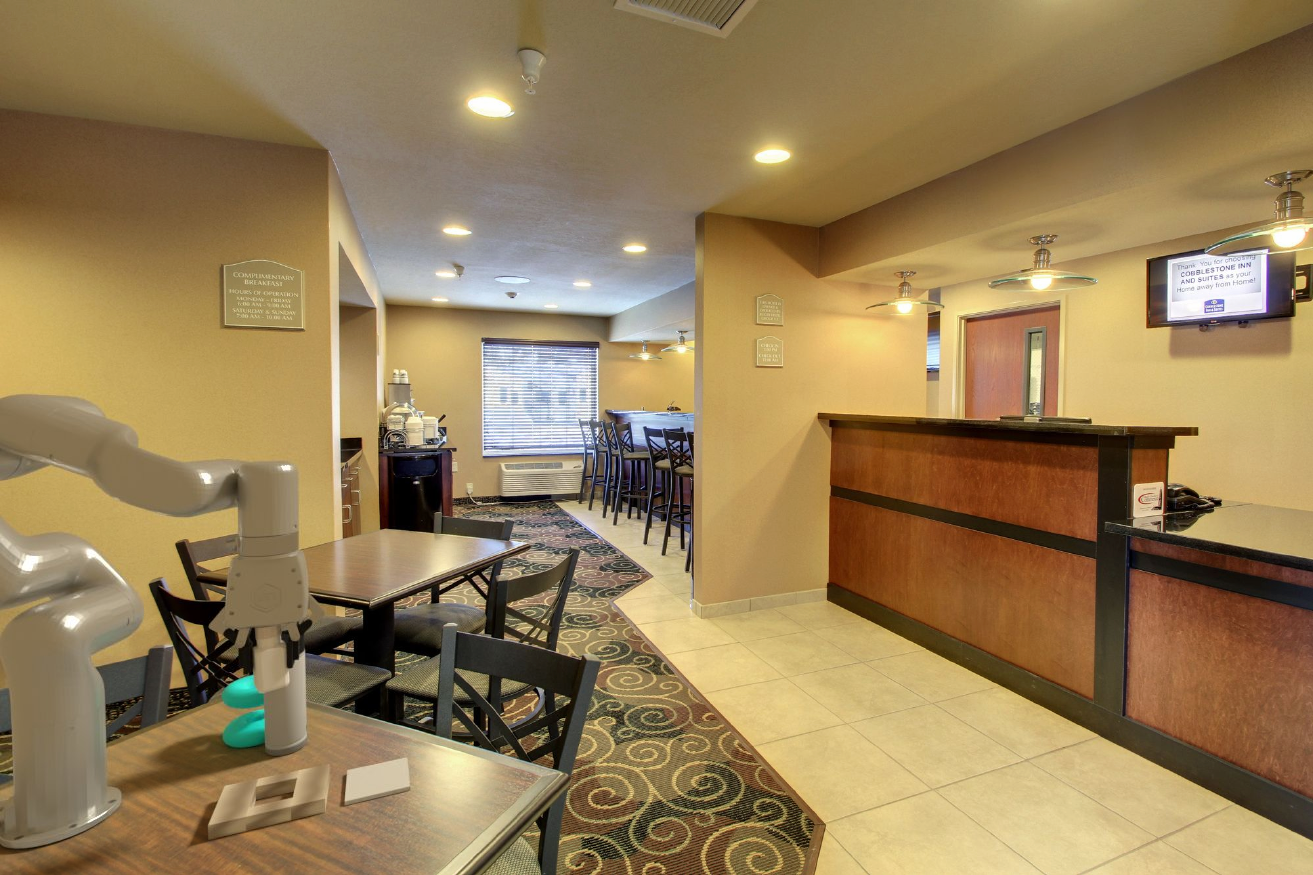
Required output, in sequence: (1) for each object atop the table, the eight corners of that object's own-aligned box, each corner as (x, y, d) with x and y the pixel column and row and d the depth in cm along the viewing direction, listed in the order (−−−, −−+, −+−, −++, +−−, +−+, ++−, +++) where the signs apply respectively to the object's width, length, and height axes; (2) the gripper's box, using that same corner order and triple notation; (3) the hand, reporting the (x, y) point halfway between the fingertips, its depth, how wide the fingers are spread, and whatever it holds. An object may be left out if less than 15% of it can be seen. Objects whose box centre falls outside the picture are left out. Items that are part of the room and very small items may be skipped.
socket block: (208, 839, 82) (207, 825, 82) (225, 798, 91) (224, 785, 91) (325, 812, 88) (324, 798, 88) (330, 775, 97) (329, 763, 97)
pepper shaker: (258, 695, 87) (254, 630, 86) (253, 687, 90) (249, 624, 89) (290, 686, 89) (286, 623, 89) (284, 678, 92) (280, 617, 92)
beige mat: (344, 805, 90) (344, 801, 90) (347, 773, 98) (347, 770, 98) (410, 789, 94) (410, 786, 94) (407, 760, 102) (407, 757, 102)
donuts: (265, 666, 116) (299, 675, 112) (266, 718, 117) (300, 729, 112) (209, 687, 107) (243, 698, 103) (210, 743, 108) (244, 756, 103)
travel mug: (316, 737, 109) (314, 628, 108) (289, 758, 103) (286, 642, 102) (285, 734, 110) (282, 626, 109) (256, 754, 104) (253, 639, 103)
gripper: (190, 555, 82) (192, 688, 82) (332, 545, 89) (333, 668, 90) (205, 545, 89) (206, 668, 89) (335, 536, 96) (336, 650, 96)
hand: (269, 666), depth 89 cm, fingers closed on pepper shaker, 4 cm apart
